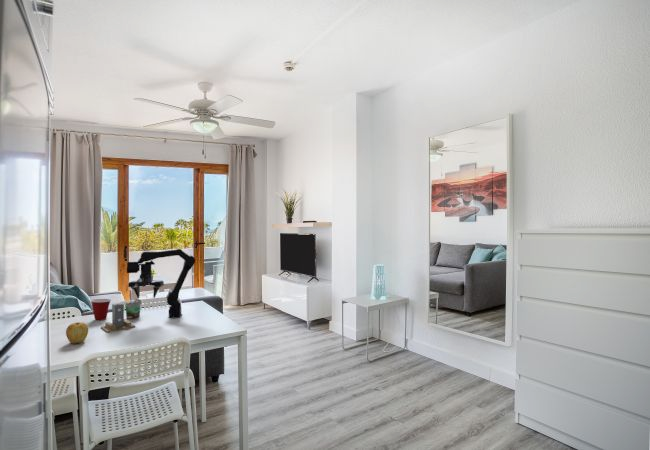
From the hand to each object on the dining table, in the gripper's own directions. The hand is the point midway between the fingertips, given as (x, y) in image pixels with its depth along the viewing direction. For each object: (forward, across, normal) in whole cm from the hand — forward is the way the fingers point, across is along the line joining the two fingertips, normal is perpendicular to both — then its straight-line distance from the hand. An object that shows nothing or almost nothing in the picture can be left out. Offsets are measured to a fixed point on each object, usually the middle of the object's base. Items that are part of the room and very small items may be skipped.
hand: (146, 298), depth 223 cm
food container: (+13, -9, +6) cm, 17 cm away
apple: (+13, -17, -40) cm, 45 cm away
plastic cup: (+13, -28, +3) cm, 31 cm away
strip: (+12, -9, -16) cm, 22 cm away
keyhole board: (+13, -9, -16) cm, 23 cm away
